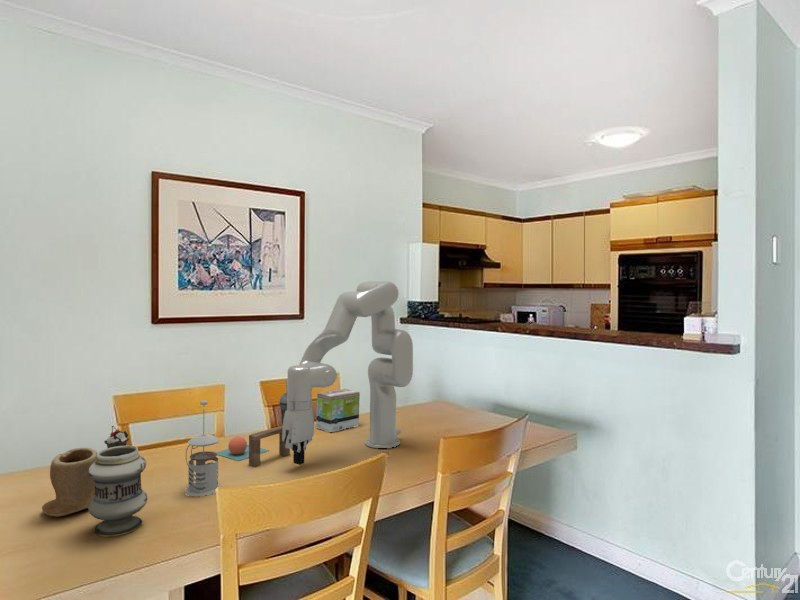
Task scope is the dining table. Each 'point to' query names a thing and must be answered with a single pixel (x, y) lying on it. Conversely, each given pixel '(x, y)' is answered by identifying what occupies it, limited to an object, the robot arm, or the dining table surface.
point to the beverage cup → (283, 404)
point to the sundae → (117, 439)
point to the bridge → (255, 445)
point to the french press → (202, 465)
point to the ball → (237, 445)
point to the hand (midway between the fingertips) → (298, 463)
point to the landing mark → (239, 457)
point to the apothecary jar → (117, 490)
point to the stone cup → (71, 482)
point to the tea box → (337, 410)
